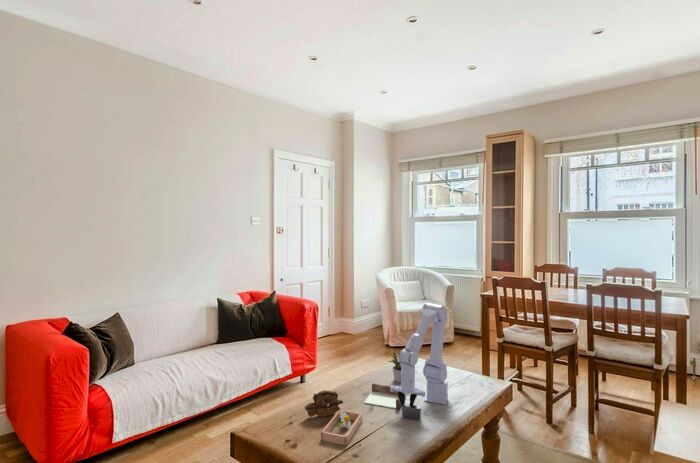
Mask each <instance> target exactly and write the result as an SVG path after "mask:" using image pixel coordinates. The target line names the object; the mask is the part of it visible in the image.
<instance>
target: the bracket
mask: <svg viewBox="0 0 700 463" xmlns="http://www.w3.org/2000/svg"><path fill="white" fill-rule="evenodd" d="M401 411H402V412H401V418H402V419H407V420H411V421H417V422H420V421H421V420H422V406H420V405H419V406H418V405H414V404H413V405H410V396H409V395H407V397H405V402H404V404H403V405H401Z"/></svg>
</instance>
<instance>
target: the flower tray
mask: <svg viewBox="0 0 700 463" xmlns="http://www.w3.org/2000/svg"><path fill="white" fill-rule="evenodd" d="M341 410H342V412H343V411H344V412H345V413H346V416H347V415H348V417H349V419H350V420H349V421H354V422H353V423H352V424H351V428H350V429H349V428H348V431H347V432H346V434H345V435H343V434H338V433H333V432H331V431H332V430H333V428H334V426H335V425H337V424H338V422H339V420H341V418H340V416H341V415H340V414H341V413H340V411H341ZM339 413H340V414H339ZM343 414H344V413H343ZM362 422H363V413H362V412H361V413H360V412H355V411H350V410H345V409H341V408H340V409H339V410H338V411H337V412H336V413H334V416H333V417H331V419H330V421H329V422H328V423H327V424H326V425H325V426H324V427H323V429H322V430H321V431H322V432H321V431H320V440H321V441H322V442H323V441H324V442H327V443H333V444H337V445H342V446H347V445H349V442H350V441H351V439H352V438H353V436H354V434H355V433H356V431H357V430H358V429H359V426H360V425H361V424H362ZM335 427H336V426H335Z"/></svg>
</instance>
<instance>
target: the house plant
mask: <svg viewBox="0 0 700 463" xmlns="http://www.w3.org/2000/svg"><path fill="white" fill-rule="evenodd" d="M404 349H405V348H402V350H404ZM390 350H391V352H392V354H393V355H392V354H391V353H390V352H389V353H388V354H389V355H390V356H391V357H392V359H391V360H388V361H387V363H393V364H394V366H392V372H393V381H395V382H397V383H401V366H400V362H399V359H398V356H399V354H400V350H399V348H397V353H396V352H395V351H394V350H393V349H392V348H391V349H390ZM402 350H401V351H402ZM397 354H398V355H397Z"/></svg>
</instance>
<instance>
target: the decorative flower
mask: <svg viewBox="0 0 700 463" xmlns="http://www.w3.org/2000/svg"><path fill="white" fill-rule="evenodd" d="M340 410H341V411H340V413H341V414H340V413H339V414H340V415H341V416H340V422H339V423H336V424H335V426H334V427H338V426H339V425H341V424H343V425H344V428H346V429H347V430H349V429H350V428H351V426H352V422H351V420H350V419H349V417H348V415H347V416H346V413H345V412H344V411H343V412H342V410H343V409H340ZM343 413H344V414H343ZM334 427H333V428H334ZM321 432H322V430H321V431H319V432H317V434H321Z"/></svg>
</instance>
